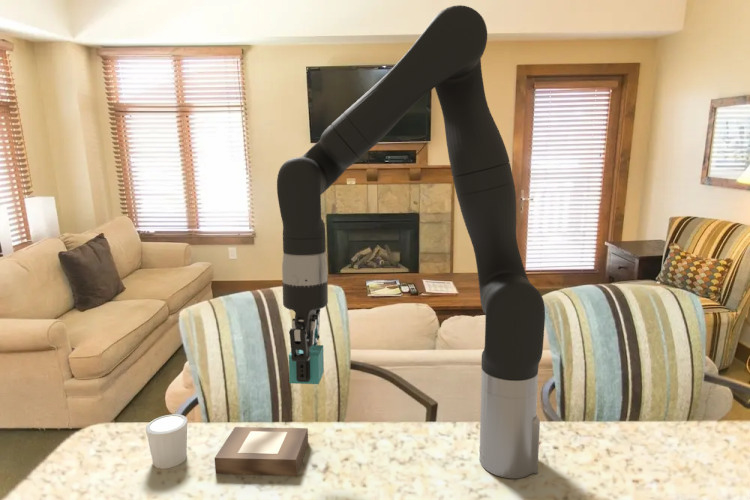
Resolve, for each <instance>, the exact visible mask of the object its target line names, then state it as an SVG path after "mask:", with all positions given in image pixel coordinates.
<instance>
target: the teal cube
mask: <svg viewBox="0 0 750 500" xmlns="http://www.w3.org/2000/svg"><path fill="white" fill-rule="evenodd" d="M299 353H303V350H299ZM310 356H311V359H310V380H309V381H308V382H298V381H297V374H296V361H292V354H291V351H290V353H289V354H288V376H289V378H288V381H289V384H299V385H300V384H302V385H305V384H306V385H319V384H320V382H321V380H322V378H323V375H324V372H325V371H324V370H325V368H324V363H325V362H324V345H323V344H322V345H321V344H318V345H313V346H312V347H311V355H310Z"/></svg>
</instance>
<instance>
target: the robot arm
mask: <svg viewBox="0 0 750 500" xmlns="http://www.w3.org/2000/svg"><path fill="white" fill-rule="evenodd" d="M487 29H488V28H487V25H486V21H485V19H484V17H483V16H482V15H481V14H480V13H479V12H478V11H477V10H476V9H474V8H472V7H470V6H467V5H462V4H461V5H460V4H459V5H458V4H457V5H452V6H448V7H446V8H444V9H443V10H441V11H440V12H438V13H437V14H436V15H435V16H434V17H433V18H432V19H431V21H430V23H429V24H428V25H427V26H426V28H425V29H424V31H423V32H422V33H421V34H420V36H418V38H417V39H416V40H415V42H414V43H413V44H412V46H411V47H410V48H409V49H408V50H407V52H406V53H405V54H404V55H403V56H402V57H401V59H400V60H398V62H397V63H396V64H394V66H393V67H392V68H391V69H389V71H388V72H387V73H386V74H385V75H384V76H383V77H382V78H381V79H379V81H378V82H376V83H375V84H374V85H373V86H372V87H371V88H370V89H368V91H366V92H365V93H364V94H363V95H362V96H361V97H360V98H358V99H357V100H356V101H355V102H354V103H353V104H351V106H349V108H347V109H346V110H345V111H344V112H343V113H341V115H340V116H338V117H337V118H336V119H335V120H334V121H333V122H332V123H331V124H330V125H329V126H327V128H325V129H324V131H323V132H322V134H321V135H320V139H319V140H318V141H317V142H316V143H315V144H313V146H311V148H310V149H308V150H307V151H306V152H305V153H304V154H302V156H299V157H292V158H290V159H287V160H286V161H285V162H284V163H283V164H282V165H281V167H280V168H279V170H278V174H277V177H276V191H277V201H278V207H279V213H280V217H281V218H280V219H281V222H282V252H283V254H282V264H281V265H282V266H281V273H282V277H281V278H282V281H281V282H282V304H283V307H284V308H285V309H288V310H291V311H293V312H294V313H295V314H294V318H293V317H292V321H291V327H290V329H289V330H288V333H289V341H290V342H289V343H290V352H291V354H292V361H296V374H297V381H298V382H308V381H309V380H310V359H311V356H310V355H311V347H312V346H313V345H319V342H318V341H319V340H320V321H321V320H320V315H321V309H323V308H325V307H327V306H328V303H329V299H328V298H329V297H328V296H329V295H328V292H329V291H328V290H329V289H328V285H329V284H328V262H327V261H328V260H327V252H326V251H327V250H326V249H327V247H326V246H327V245H326V240H327V239H326V226H325V222H324V219H323V218H322V202H321V199H322V198H321V196H322V195H323V194H324V193H325V192H326V191H327V190H328V189H329V188H330V187H331V186H332V185H333V184H334V183H335V182H336V181H337V180H338V179H339V178H340V176H342V175H343V174H344V172H346V170H347V169H349V167H351V166H352V165H354V164H355V163H356V162H357V161H359V160H360V159H361V158H362V157H363V156H364V155H366V154H367V153H368V152H369V151H370V150H371V149H372V148H373V147H375V145H377V144H378V143H379V142H380V141H381V140H382V139H383V138H384V137H386V135H387V134H388V133H389V132H391V130H392V129H393V128H395V126H396V125H397V124H398V123H399V121H400V120H401V119H402V118H403V117H405V115H406V114H407V113H408V112H409V111H410V110H411V108H413V107H414V106H415V104H417V103H418V102H419V101H420V100H421V99H422V98H423V97H425V95H427V94H428V93H429V92H431V91H432V90H433V89H434V90H435V92H436V95H437V98H438V99H437V100H438V102H439V104H440V109H441V113H442V117H443V122H444V131H445V140H446V148H447V154H448V160H449V165H450V170H451V176H452V180H453V185H454V189H455V194H456V199H457V201H458V204H459V209H460V211H461V212H460V213H461V215H462V218H463V223H464V224H465V228H466V230H467V234H468V235H469V238H470V241H471V245H472V247H473V252H474V257H475V261H476V262H475V263H476V271H477V277H478V279H477V280H478V289H479V300H480V306H481V309H482V311H483V313H484V316H485V317H484V318H485V319H484V320H485V322H484V323H485V327H484V332H485V333H484V348H483V351H482V352H481V365H480V367H481V371H480V372H481V373H480V376H481V377H480V415H479V416H480V419H479V421H480V422H479V423H480V428H479V463H480V465H481V466H482V467H483V469H484V470H486V471H487V472H489V473H491V474H492V475H495V476H497V477H500V478H504V479H505V478H506V479H521V478H524V477H527V476H529V475H532V474H538V473H539V453H540V451H539V450H540V449H539V447H540V430H541V427H540V426H541V423H540V422H541V421H540V418H539V417H538V415H537V409H538V408H537V407H538V406H537V405H538V404H537V403H538V383H539V382H538V381H539V365H540V362H541V361H542V356H543V349H544V339H545V338H544V337H545V323H546V307H545V301H544V298H543V295H541V293H540V291H539V290H538V289H537V288H536V287H535V285H533V284H532V283H531V282H530V280H529V278H528V275H527V273H526V270H525V267H524V264H523V259H522V256H521V253H520V249H519V245H518V240H517V239H518V238H517V194H516V187H515V180H514V176H513V172H512V166H511V163H510V162H511V161H510V157H509V155H508V151H507V147H506V144H505V143H504V139H503V137H502V135H501V133H500V130H499V127H498V126H497V123H496V122H495V120H494V118H493V116H492V113H491V110H490V108H489V105H488V102H487V97H486V92H485V85H484V79H483V72H482V60H481V59H482V57H483V55H484V52H485V50H486V46H487V42H488V30H487ZM299 350H303V353H299Z"/></svg>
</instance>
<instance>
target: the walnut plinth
mask: <svg viewBox="0 0 750 500" xmlns="http://www.w3.org/2000/svg"><path fill="white" fill-rule="evenodd" d="M308 445H309V429H308V427H307V428H306V427H263V426H262V427H261V426H260V427H259V426H258V427H257V426H256V427H255V426H254V427H249V426H235V427H234V428H233V429H232V431H231V432H230V434H229V435H228V437H227V439H226V440H225V441H224V443H223V445H222V446H221V447H220V448H219V450H218V452H217V453H216V455H215V456H214V470H215V475H238V476H239V475H240V476H243V475H244V476H245V475H246V476H247V475H248V476H279V477H280V476H282V477H283V476H284V477H285V476H288V477H296V476H298V473H299V470H300V467H301V464H302V462H303V459H304V456H305V453H306V450H307V448H308Z"/></svg>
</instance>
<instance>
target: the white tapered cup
mask: <svg viewBox="0 0 750 500" xmlns="http://www.w3.org/2000/svg"><path fill="white" fill-rule="evenodd" d="M145 431H146V436H147V437H146V438H147V442H148V446H149V452H150V455H151V460H152V461H151V462H152V465H153V466H154V467H155V468H158V469H170V468H174V467H176V466H179V465H181V464H182V463H184V462H185V460H186V459H187V456H188V455H187V454H188V453H187V452H188V451H187V450H188V449H187V448H188V418H187V417H186V416H185V415H183V414H180V413H177V414H176V413H175V414H166V415H161V416H159V417H157V418H154V419H153V420H152V421H150V422H149V423H148V424H146V426H145Z"/></svg>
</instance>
